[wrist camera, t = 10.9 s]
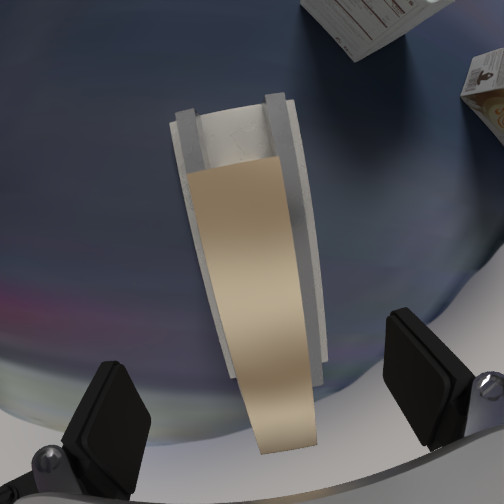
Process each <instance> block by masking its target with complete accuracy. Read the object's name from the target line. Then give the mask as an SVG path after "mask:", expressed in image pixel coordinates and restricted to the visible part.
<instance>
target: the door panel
mask: <svg viewBox="0 0 504 504" xmlns="http://www.w3.org/2000/svg"><path fill="white" fill-rule="evenodd" d="M187 179H188V183H189V188H190V193H191V197H192V202H193V206H194V211H195V215H196V220H197V224H198V229H199V233H200V237H201V242H202V246H203V250H204V254H205V258H206V262H207V267H208V271H209V275H210V279H211V283H212V287H213V291H214V295H215V298H216V302H217V306H218V310H219V314H220V318H221V321H222V325H223V329H224V332H225V336H226V340H227V343H228V347H229V351H230V354H231V358H232V361H233V365H234V368H235V372H236V375H237V379H238V382H239V385H240V389H241V392H242V395H243V399H244V402H245V405H246V409H247V412H248V415H249V418H250V422H251V425H252V428H253V431H254V434H255V437H256V440H257V443H258V446H259V449H260V453H261V454H269V453H276V452H282V451H288V450H294V449H300V448H304V447H309V446H315V445H317V435H316V423H315V412H314V401H313V391H312V381H311V372H310V362H309V353H308V345H307V336H306V328H305V320H304V312H303V305H302V297H301V290H300V283H299V276H298V269H297V262H296V255H295V248H294V242H293V235H292V229H291V223H290V216H289V210H288V204H287V198H286V192H285V187H284V181H283V175H282V170H281V164H280V159H279V156H275V157H269V158H263V159H258V160H252V161H247V162H241V163H236V164H231V165H226V166H221V167H216V168H211V169H207V170H202V171H198V172H193V173H189V174H187Z"/></svg>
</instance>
